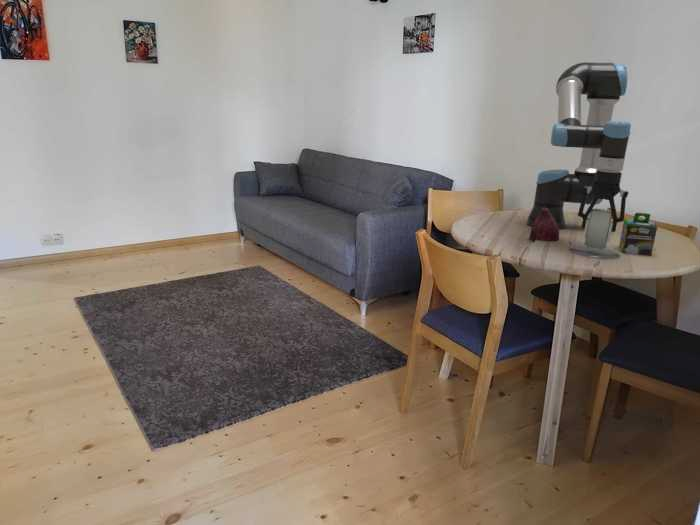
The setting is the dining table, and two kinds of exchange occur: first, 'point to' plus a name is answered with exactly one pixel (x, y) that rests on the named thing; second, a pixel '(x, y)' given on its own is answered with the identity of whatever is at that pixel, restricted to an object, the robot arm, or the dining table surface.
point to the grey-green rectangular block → (598, 228)
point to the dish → (594, 252)
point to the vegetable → (544, 227)
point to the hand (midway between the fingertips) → (596, 239)
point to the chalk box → (638, 235)
